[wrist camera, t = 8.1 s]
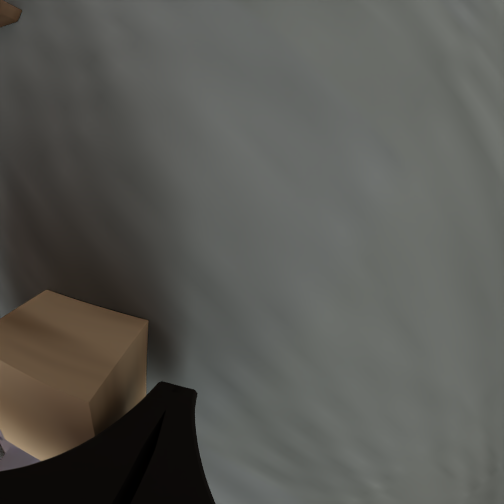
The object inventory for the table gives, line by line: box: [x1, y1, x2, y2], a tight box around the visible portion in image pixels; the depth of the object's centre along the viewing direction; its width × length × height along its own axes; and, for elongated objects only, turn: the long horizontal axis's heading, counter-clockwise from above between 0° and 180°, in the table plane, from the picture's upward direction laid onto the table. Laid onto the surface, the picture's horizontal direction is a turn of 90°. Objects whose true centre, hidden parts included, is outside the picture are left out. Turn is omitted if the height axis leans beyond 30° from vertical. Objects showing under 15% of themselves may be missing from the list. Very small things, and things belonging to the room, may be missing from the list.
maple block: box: [0, 290, 149, 461], centre depth 8 cm, size 4×4×4 cm
